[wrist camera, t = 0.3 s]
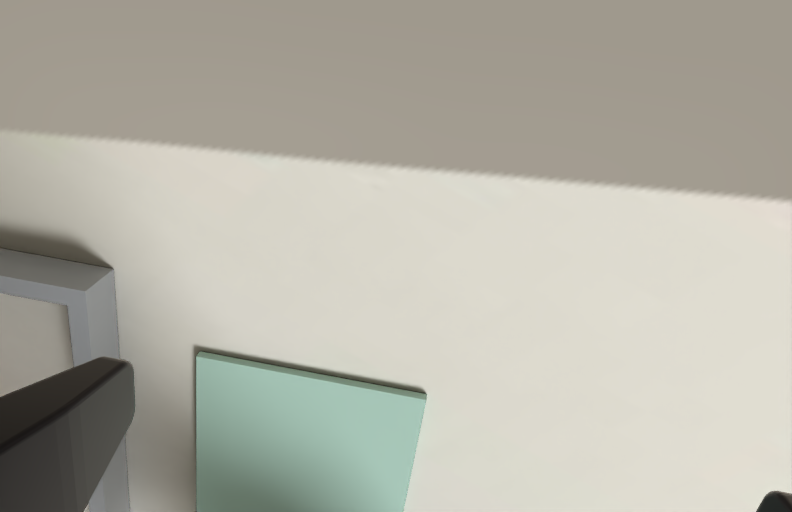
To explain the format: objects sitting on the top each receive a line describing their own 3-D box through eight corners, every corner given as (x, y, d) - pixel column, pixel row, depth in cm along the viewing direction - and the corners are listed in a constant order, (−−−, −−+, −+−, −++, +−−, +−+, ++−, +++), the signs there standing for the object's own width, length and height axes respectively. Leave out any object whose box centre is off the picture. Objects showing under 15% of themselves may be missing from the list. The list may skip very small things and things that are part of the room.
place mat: (388, 580, 31) (387, 587, 30) (199, 541, 31) (196, 548, 31) (426, 394, 26) (426, 400, 25) (199, 351, 26) (195, 356, 26)
